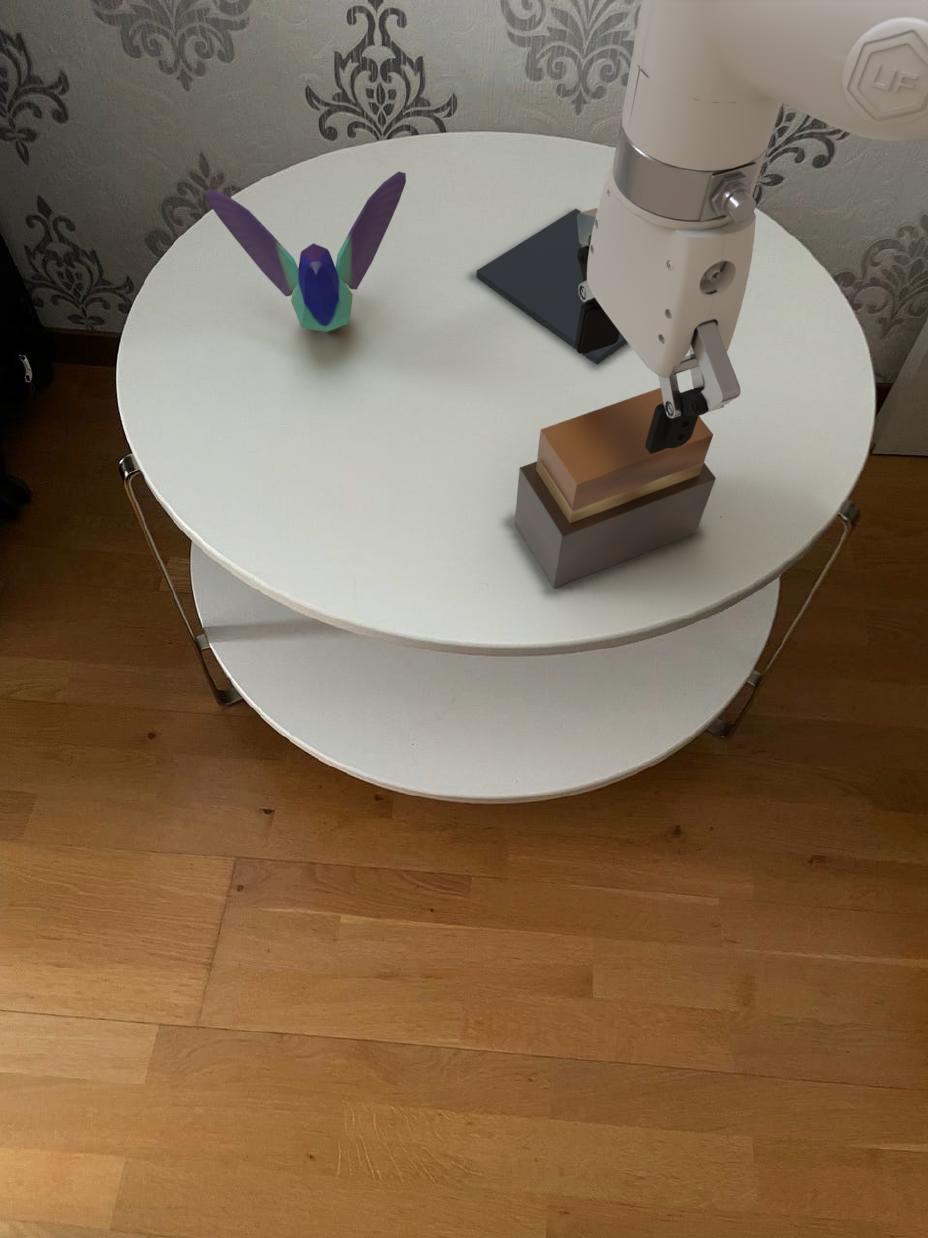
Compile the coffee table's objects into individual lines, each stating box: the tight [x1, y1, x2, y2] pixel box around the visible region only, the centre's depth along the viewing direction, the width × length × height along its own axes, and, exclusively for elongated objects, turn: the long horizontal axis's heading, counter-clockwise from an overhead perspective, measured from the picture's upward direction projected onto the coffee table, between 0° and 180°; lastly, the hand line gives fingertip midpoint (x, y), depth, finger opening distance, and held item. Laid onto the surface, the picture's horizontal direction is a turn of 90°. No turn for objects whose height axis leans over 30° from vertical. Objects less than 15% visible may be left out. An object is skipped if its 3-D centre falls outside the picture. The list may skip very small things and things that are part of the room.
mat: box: [476, 208, 628, 365], centre depth 91 cm, size 16×14×1 cm
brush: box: [536, 387, 714, 523], centre depth 69 cm, size 11×6×4 cm, turn 115°
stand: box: [514, 461, 717, 589], centre depth 74 cm, size 13×7×7 cm, turn 115°
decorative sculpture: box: [204, 171, 407, 333], centre depth 81 cm, size 17×18×15 cm
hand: (630, 393), depth 64 cm, fingers open, 9 cm apart
